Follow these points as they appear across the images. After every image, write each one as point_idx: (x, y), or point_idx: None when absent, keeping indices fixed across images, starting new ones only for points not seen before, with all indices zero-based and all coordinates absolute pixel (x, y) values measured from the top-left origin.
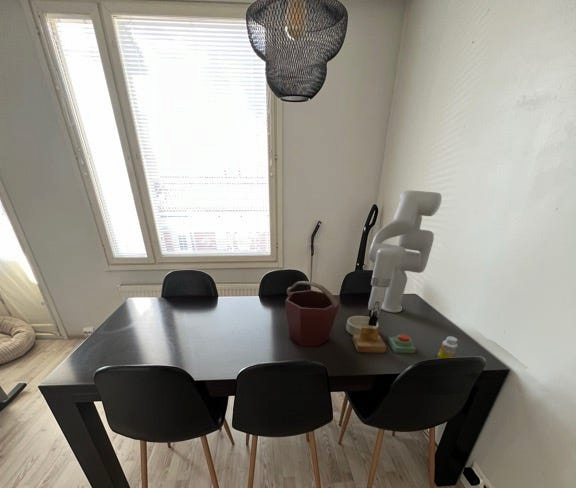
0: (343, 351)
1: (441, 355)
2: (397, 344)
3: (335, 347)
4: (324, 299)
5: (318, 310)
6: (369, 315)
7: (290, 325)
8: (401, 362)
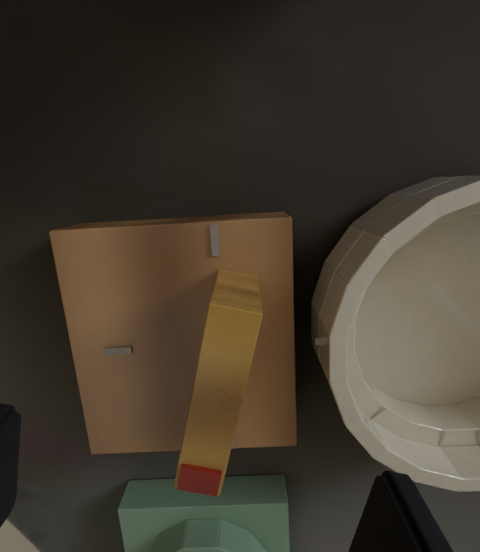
0: (63, 98)
1: None
2: (166, 532)
3: (119, 24)
4: None
5: None
6: (381, 488)
7: None
8: None
